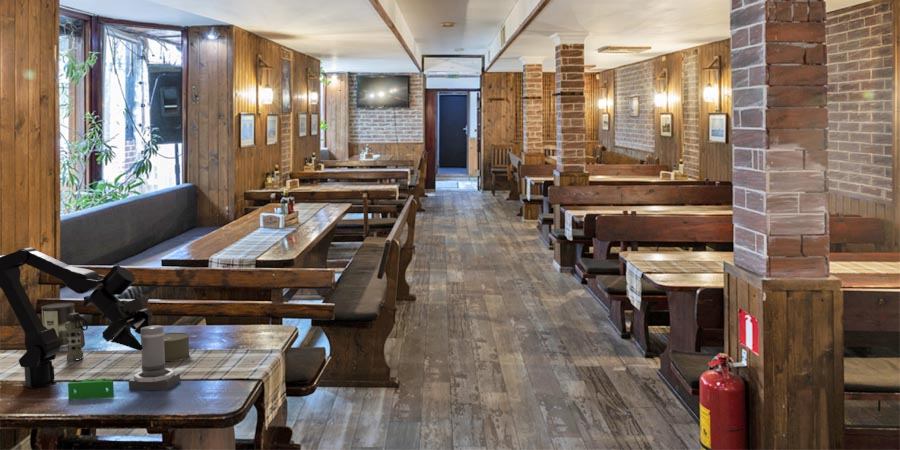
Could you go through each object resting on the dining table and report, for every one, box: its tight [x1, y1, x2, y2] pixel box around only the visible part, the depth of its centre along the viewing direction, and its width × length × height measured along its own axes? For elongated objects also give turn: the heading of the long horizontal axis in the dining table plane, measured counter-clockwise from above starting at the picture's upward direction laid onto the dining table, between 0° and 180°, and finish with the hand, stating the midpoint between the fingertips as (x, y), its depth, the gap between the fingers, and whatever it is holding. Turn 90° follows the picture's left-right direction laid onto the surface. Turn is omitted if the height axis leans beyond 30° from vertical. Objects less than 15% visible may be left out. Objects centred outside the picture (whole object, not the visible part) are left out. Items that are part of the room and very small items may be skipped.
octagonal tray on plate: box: [128, 367, 181, 391], centre depth 205 cm, size 11×10×4 cm
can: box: [164, 332, 190, 362], centre depth 236 cm, size 12×12×7 cm
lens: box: [139, 325, 166, 377], centre depth 204 cm, size 6×6×14 cm
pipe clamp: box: [67, 377, 115, 400], centre depth 196 cm, size 11×4×5 cm, turn 97°
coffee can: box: [40, 302, 76, 348], centre depth 254 cm, size 10×10×14 cm
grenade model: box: [65, 312, 90, 361], centre depth 235 cm, size 6×7×15 cm
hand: (149, 345), depth 204 cm, fingers open, 9 cm apart
